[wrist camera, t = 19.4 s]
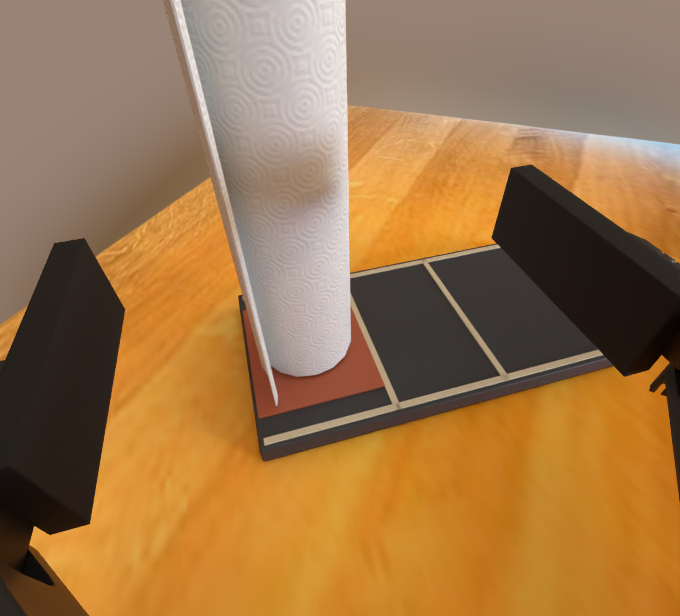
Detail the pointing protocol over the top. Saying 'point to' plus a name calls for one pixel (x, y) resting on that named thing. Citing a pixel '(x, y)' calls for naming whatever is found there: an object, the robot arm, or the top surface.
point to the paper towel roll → (277, 164)
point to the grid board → (422, 350)
